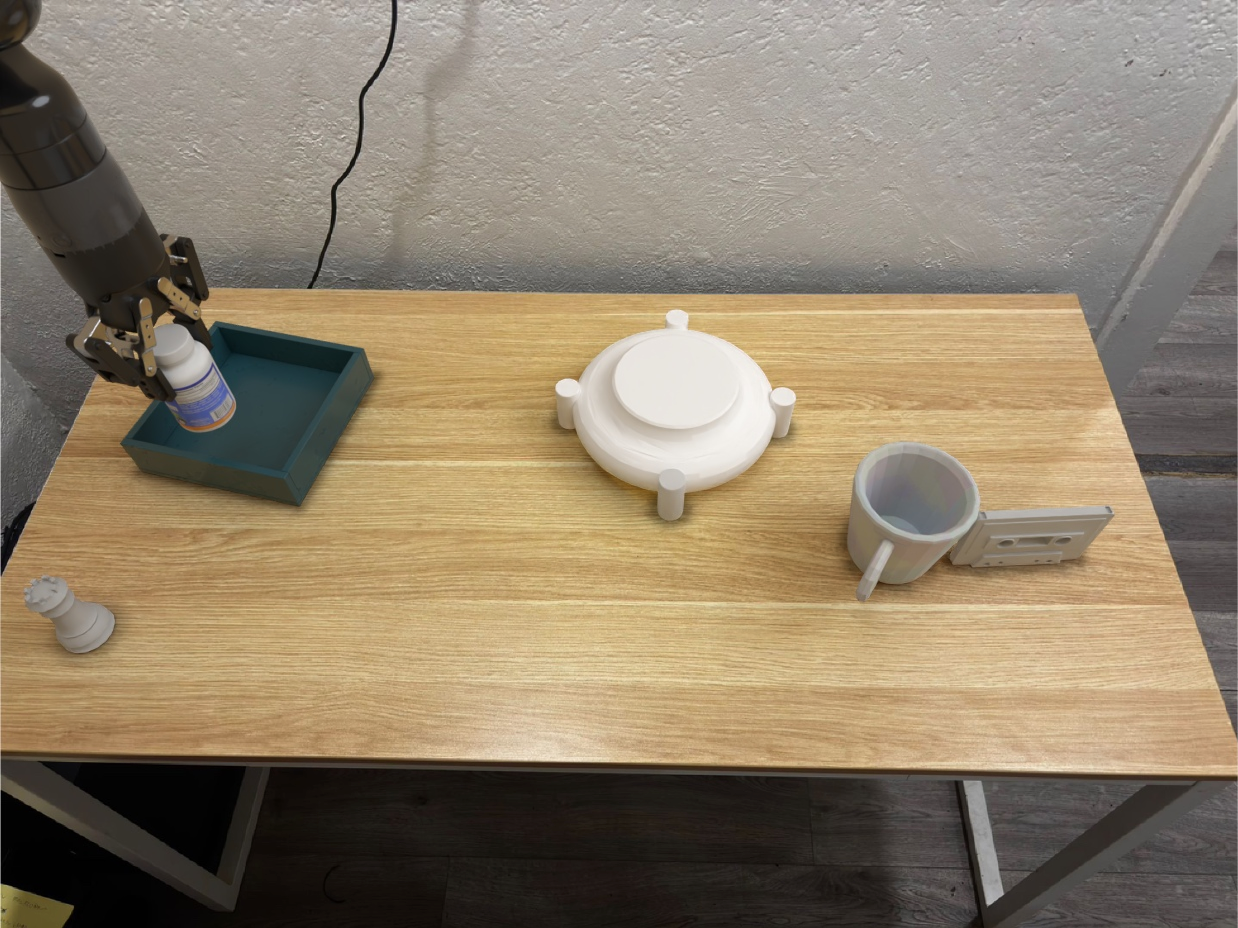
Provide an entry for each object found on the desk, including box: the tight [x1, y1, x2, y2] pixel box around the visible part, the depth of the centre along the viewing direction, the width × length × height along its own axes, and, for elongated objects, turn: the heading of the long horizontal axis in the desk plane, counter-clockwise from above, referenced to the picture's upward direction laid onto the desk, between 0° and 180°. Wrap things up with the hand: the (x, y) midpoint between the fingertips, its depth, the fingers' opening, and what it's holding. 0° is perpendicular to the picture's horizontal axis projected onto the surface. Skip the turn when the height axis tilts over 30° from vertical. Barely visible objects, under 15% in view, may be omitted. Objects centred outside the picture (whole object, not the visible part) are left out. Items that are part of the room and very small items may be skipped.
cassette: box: [949, 505, 1116, 568], centre depth 74 cm, size 12×2×8 cm, turn 93°
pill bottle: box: [153, 323, 236, 433], centre depth 75 cm, size 5×5×10 cm
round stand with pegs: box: [554, 308, 797, 522], centre depth 84 cm, size 24×24×7 cm
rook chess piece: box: [22, 574, 116, 654], centre depth 71 cm, size 4×4×8 cm
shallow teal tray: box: [119, 320, 375, 507], centre depth 86 cm, size 18×18×5 cm
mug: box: [846, 440, 981, 603], centre depth 73 cm, size 10×15×10 cm
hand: (183, 373), depth 75 cm, fingers closed on pill bottle, 5 cm apart
